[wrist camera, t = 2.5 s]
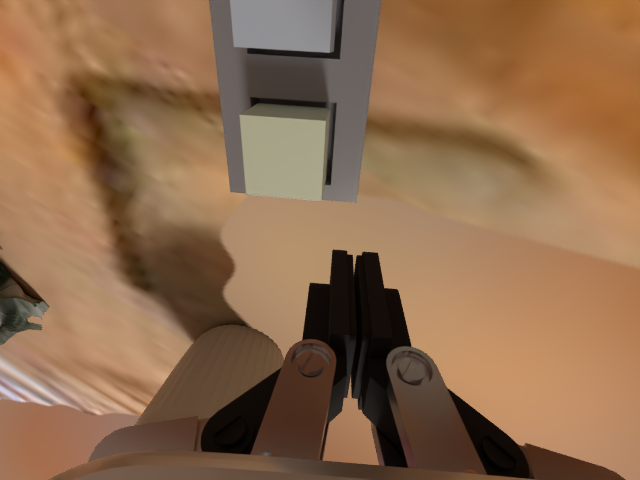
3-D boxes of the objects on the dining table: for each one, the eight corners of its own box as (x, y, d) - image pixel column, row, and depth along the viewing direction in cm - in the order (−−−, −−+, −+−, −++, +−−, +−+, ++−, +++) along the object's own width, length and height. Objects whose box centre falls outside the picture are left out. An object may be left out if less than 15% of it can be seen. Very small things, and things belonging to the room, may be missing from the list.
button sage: (330, 108, 26) (325, 120, 21) (326, 177, 29) (321, 200, 25) (258, 103, 26) (239, 114, 22) (261, 172, 29) (246, 194, 25)
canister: (263, 289, 40) (191, 484, 23) (322, 373, 48) (304, 565, 31) (158, 323, 46) (33, 502, 28) (227, 393, 54) (165, 566, 36)
